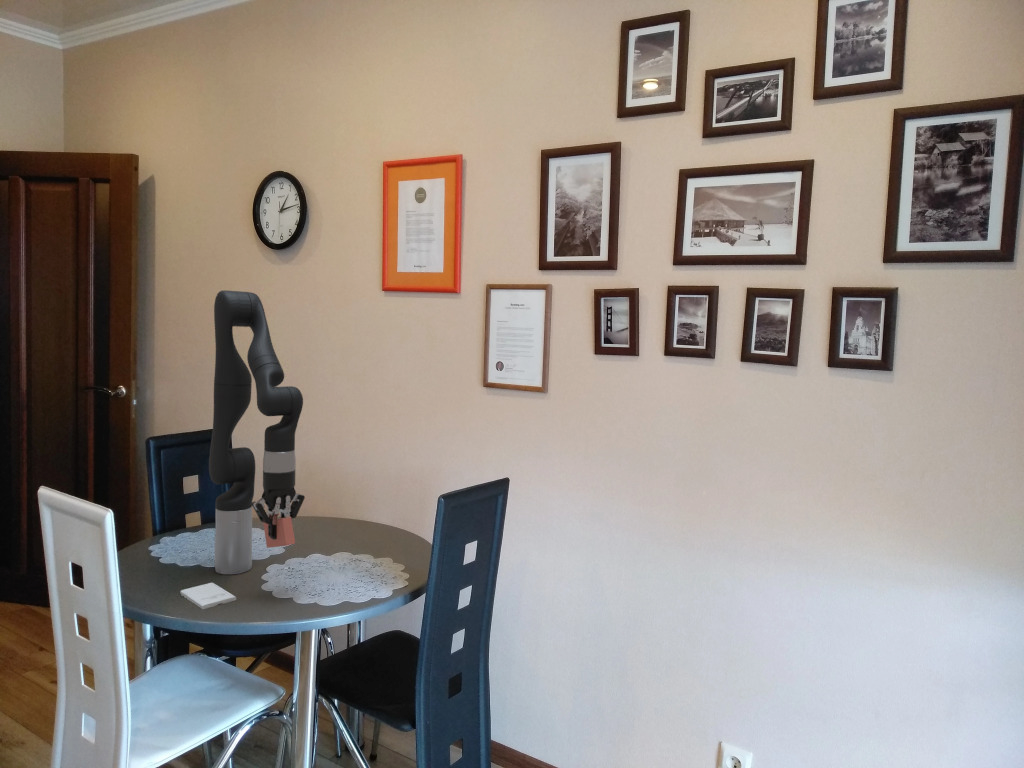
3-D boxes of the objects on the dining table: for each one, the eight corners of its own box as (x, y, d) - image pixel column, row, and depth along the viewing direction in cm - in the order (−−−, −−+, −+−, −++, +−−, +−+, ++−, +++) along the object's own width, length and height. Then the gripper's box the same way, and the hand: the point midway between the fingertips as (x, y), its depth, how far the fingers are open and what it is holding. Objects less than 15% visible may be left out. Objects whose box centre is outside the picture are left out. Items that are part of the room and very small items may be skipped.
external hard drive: (213, 588, 175) (236, 602, 166) (180, 596, 169) (202, 611, 160) (213, 582, 175) (236, 595, 166) (180, 590, 169) (202, 604, 160)
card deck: (267, 547, 170) (263, 521, 171) (275, 545, 172) (271, 519, 173) (286, 545, 164) (282, 518, 165) (295, 543, 166) (291, 516, 167)
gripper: (295, 462, 175) (294, 528, 176) (244, 469, 164) (244, 540, 166) (312, 466, 170) (311, 535, 172) (261, 474, 160) (260, 547, 161)
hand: (278, 537), depth 169 cm, fingers closed on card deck, 2 cm apart
